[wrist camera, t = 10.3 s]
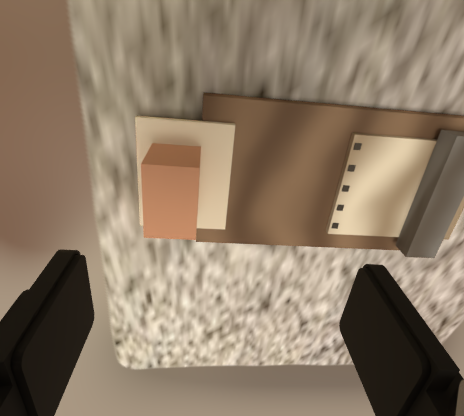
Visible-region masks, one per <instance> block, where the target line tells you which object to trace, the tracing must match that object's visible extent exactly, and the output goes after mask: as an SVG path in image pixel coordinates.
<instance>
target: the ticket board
mask: <svg viewBox="0 0 464 416" xmlns="http://www.w3.org/2000/svg"><path fill="white" fill-rule="evenodd" d="M202 121H210V122H222V123H234V124H235V134H234V144H233V155H232V165H231V175H230V185H229V195H228V205H227V215H226V226H225V230H224V229H203V228H197V232H196V242H217V243H241V244H264V245H288V246H311V247H335V248H358V249H382V250H400V251H401V252H402V253H403V254H404V255H405V256H406V257H421V258H435V256H436V254H437V251H438V249H439V247H440V245H441V243H442V241H443V239H449V237H450V235H451V233H452V231H453V229H454V227H455V225H456V223H457V221H458V219H459V217H460V215H461V213H462V211H463V208H464V116H460V115H448V114H437V113H426V112H415V111H404V110H393V109H381V108H370V107H359V106H348V105H337V104H326V103H314V102H303V101H292V100H281V99H270V98H259V97H247V96H236V95H225V94H214V93H204V94H203V112H202Z"/></svg>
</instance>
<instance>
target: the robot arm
mask: <svg viewBox="0 0 464 416" xmlns="http://www.w3.org/2000/svg"><path fill="white" fill-rule="evenodd" d="M93 321H94V309H93V303H92V296H91V290H90V283H89V277H88V270H87V264H86V258H85V256H84V255H80V252H79V251H77V250H58V251H57V252H56V254H55V255H54V256H53V258H52V259H51V260H50V262H49V263H48V264H47V266H46V267H45V269H44V270H43V271H42V273H41V274H40V275H39V277H38V278H37V280H36V281H35V282H34V284H33V285H32V286H31V288H30V289H29V290H26V291H23V292H22V294H21V295H20V296H19V297H18V298H17V300H16V301H15V302H14V304H13V305H12V306H11V308H10V309H9V310H8V312H7V313H6V314H5V316H4V317H3V318H2V320H1V321H0V416H54V415H55V413H56V410H57V408H58V405H59V403H60V401H61V398H62V396H63V393H64V391H65V389H66V386H67V384H68V382H69V379H70V377H71V375H72V372H73V370H74V368H75V365H76V363H77V360H78V358H79V356H80V353H81V351H82V348H83V346H84V344H85V341H86V339H87V337H88V334H89V332H90V330H91V327H92V325H93ZM339 326H340V332H341V334H342V337H343V339H344V341H345V344H346V346H347V349H348V351H349V353H350V356H351V358H352V360H353V363H354V365H355V368H356V370H357V372H358V375H359V377H360V380H361V382H362V384H363V387H364V389H365V392H366V394H367V396H368V399H369V401H370V403H371V406H372V408H373V411H374V413H375V415H376V416H464V379H463V378H462V376H461V375H460V373H459V371H460V369H459V368H458V367H457V365H456V364H455V363H454V361H453V360H452V359H451V357H450V356H449V354H448V353H447V352H446V350H445V349H444V347H443V346H442V345H441V343H440V342H439V341H438V339H437V338H436V336H435V335H434V334H433V332H432V331H431V329H430V328H429V327H428V325H427V324H426V323H425V321H424V320H423V318H422V317H421V316H420V314H419V313H418V312H417V310H416V309H415V307H414V306H413V305H412V303H411V302H410V301H409V299H408V298H407V296H406V295H405V294H404V292H403V291H402V290H401V288H400V287H399V285H398V284H397V283H396V281H395V280H394V279H393V277H392V276H391V274H390V273H389V272H388V270H387V269H386V268H385V267H384V266H383V265H374V264H366V265H364V266H363V268H360V269H359V270H358V272H357V275H356V278H355V281H354V284H353V286H352V289H351V292H350V295H349V297H348V300H347V303H346V306H345V308H344V311H343V314H342V317H341V320H340V325H339Z"/></svg>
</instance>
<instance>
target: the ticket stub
mask: <svg viewBox="0 0 464 416" xmlns="http://www.w3.org/2000/svg"><path fill="white" fill-rule="evenodd" d="M135 127H136V149H137V170H138V192H139V214H140V226H143V229H144V238H167V239H190V240H196V230H197V228H203V229H224V230H225V226H226V215H227V205H228V195H229V185H230V175H231V165H232V155H233V144H234V134H235V124H234V123H222V122H210V121H197V120H185V119H172V118H160V117H148V116H136V117H135Z"/></svg>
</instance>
